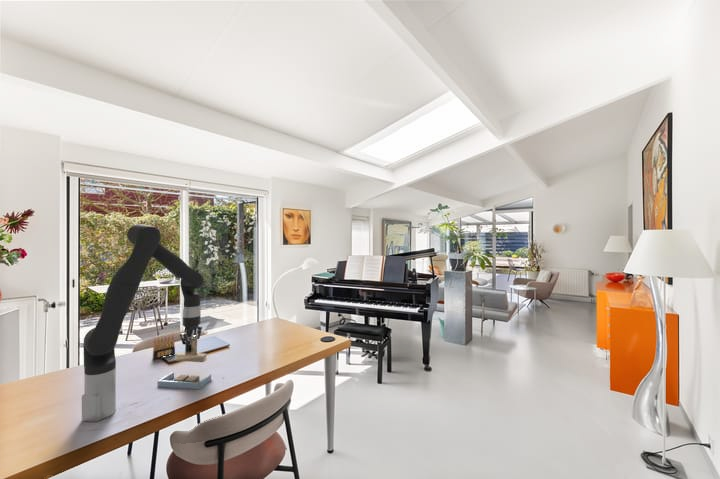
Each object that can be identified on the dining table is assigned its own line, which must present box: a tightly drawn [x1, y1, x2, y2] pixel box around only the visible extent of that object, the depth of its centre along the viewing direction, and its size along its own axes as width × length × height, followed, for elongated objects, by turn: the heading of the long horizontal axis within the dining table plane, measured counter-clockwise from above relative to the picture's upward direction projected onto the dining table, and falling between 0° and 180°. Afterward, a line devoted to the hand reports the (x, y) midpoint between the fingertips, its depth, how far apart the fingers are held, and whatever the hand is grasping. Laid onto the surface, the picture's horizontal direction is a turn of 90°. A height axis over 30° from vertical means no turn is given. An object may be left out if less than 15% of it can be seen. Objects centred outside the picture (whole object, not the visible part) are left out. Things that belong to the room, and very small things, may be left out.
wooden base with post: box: [174, 339, 208, 363], centre depth 150 cm, size 3×14×10 cm, turn 84°
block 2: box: [185, 374, 200, 382], centre depth 146 cm, size 5×4×2 cm
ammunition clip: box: [152, 334, 176, 361], centre depth 175 cm, size 11×2×12 cm, turn 139°
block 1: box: [173, 374, 190, 382], centre depth 146 cm, size 5×4×2 cm
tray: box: [157, 371, 212, 390], centre depth 146 cm, size 10×20×2 cm, turn 84°
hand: (191, 350), depth 150 cm, fingers closed on wooden base with post, 3 cm apart
